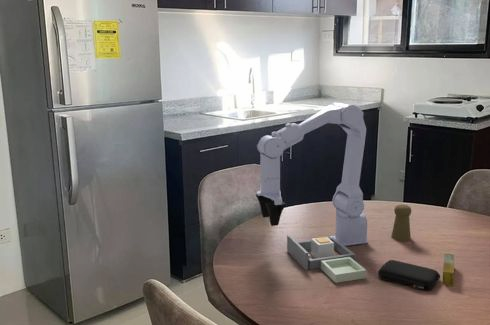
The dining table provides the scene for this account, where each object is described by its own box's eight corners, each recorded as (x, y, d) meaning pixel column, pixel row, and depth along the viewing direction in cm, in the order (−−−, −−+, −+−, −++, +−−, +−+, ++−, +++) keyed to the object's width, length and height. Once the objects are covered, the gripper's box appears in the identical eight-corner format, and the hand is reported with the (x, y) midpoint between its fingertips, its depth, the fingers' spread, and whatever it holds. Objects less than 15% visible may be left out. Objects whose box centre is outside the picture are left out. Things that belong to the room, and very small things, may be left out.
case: (332, 244, 153) (333, 229, 151) (355, 262, 140) (355, 246, 138) (287, 250, 148) (287, 235, 147) (305, 269, 135) (305, 253, 134)
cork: (406, 242, 154) (409, 209, 151) (388, 238, 157) (390, 206, 155) (413, 237, 158) (415, 204, 156) (395, 233, 162) (397, 201, 159)
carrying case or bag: (373, 281, 129) (430, 296, 121) (374, 270, 129) (431, 285, 120) (387, 266, 138) (441, 280, 130) (387, 256, 137) (442, 269, 129)
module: (326, 252, 147) (326, 235, 146) (333, 258, 143) (334, 241, 141) (310, 254, 146) (311, 237, 145) (317, 261, 141) (318, 243, 140)
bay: (349, 264, 139) (349, 256, 138) (365, 278, 130) (366, 270, 130) (320, 268, 136) (320, 260, 136) (335, 282, 128) (335, 274, 127)
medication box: (443, 266, 137) (444, 253, 136) (453, 267, 136) (454, 254, 135) (442, 285, 126) (443, 271, 126) (453, 286, 125) (454, 272, 125)
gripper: (249, 172, 148) (250, 214, 151) (265, 184, 134) (265, 230, 137) (271, 170, 150) (271, 212, 153) (288, 182, 136) (288, 228, 139)
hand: (270, 220), depth 145 cm, fingers open, 7 cm apart
